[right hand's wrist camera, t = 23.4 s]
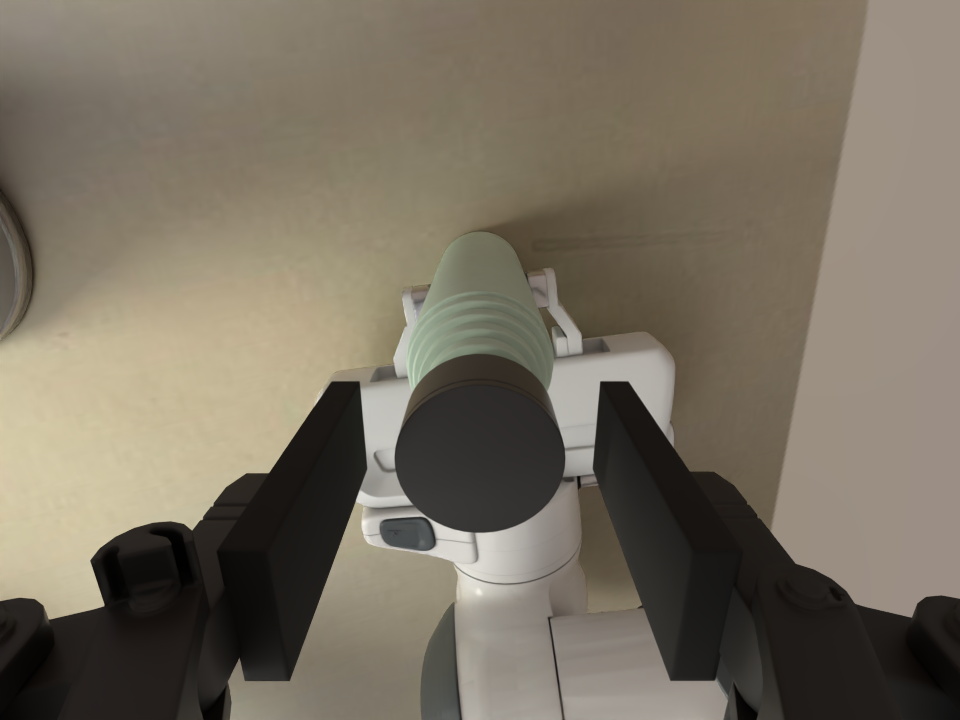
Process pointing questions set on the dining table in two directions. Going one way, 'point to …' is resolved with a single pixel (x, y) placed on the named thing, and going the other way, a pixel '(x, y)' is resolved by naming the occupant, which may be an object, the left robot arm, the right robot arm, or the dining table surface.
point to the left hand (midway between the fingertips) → (476, 279)
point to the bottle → (480, 311)
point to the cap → (479, 445)
